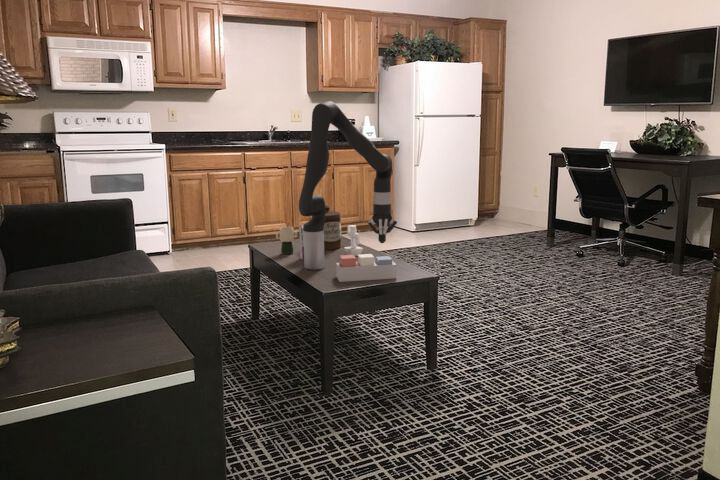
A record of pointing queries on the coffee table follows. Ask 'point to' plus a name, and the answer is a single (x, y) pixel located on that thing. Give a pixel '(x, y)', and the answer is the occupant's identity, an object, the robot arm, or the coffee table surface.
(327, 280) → the coffee table surface
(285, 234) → the character mug
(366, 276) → the control box
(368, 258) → the cream white block
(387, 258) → the blue key
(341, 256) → the red key
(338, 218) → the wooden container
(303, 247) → the candy bar box
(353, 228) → the figurine
